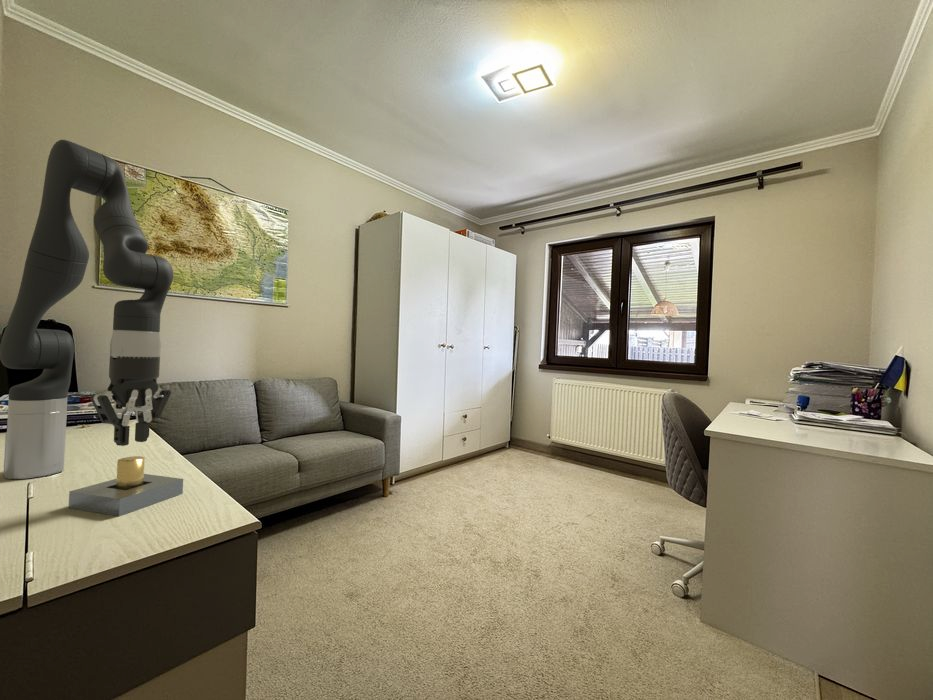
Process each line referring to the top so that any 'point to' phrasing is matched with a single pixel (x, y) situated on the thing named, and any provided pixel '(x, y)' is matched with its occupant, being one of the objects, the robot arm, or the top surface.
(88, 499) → the frame
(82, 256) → the robot arm
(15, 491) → the top surface
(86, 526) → the top surface
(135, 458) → the brass cylinder
